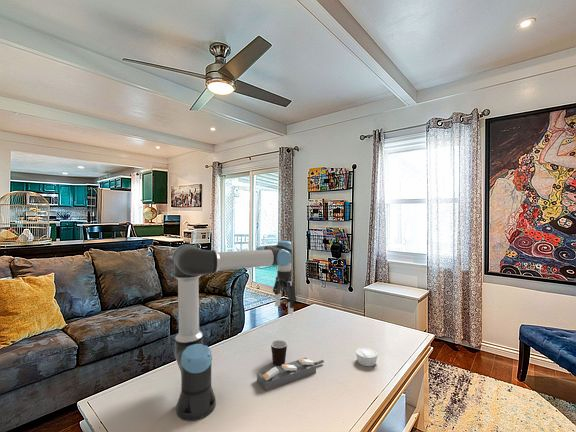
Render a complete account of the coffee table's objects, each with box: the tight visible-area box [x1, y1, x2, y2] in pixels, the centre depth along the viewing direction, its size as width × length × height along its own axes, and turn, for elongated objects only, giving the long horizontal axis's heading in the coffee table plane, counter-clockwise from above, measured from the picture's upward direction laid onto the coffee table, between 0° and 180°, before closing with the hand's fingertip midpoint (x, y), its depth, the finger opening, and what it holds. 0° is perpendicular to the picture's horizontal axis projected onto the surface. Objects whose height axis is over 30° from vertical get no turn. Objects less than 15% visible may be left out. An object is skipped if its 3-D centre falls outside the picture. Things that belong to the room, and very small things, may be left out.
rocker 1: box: [263, 366, 279, 381], centre depth 131 cm, size 7×3×1 cm, turn 121°
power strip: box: [256, 357, 325, 392], centre depth 140 cm, size 36×9×4 cm, turn 121°
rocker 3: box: [298, 358, 315, 365], centre depth 142 cm, size 7×3×1 cm, turn 122°
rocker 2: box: [281, 363, 297, 371], centre depth 136 cm, size 7×3×1 cm, turn 122°
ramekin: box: [355, 347, 379, 367], centre depth 152 cm, size 11×11×5 cm
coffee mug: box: [270, 339, 288, 367], centre depth 152 cm, size 12×9×10 cm
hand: (283, 309), depth 152 cm, fingers open, 13 cm apart
